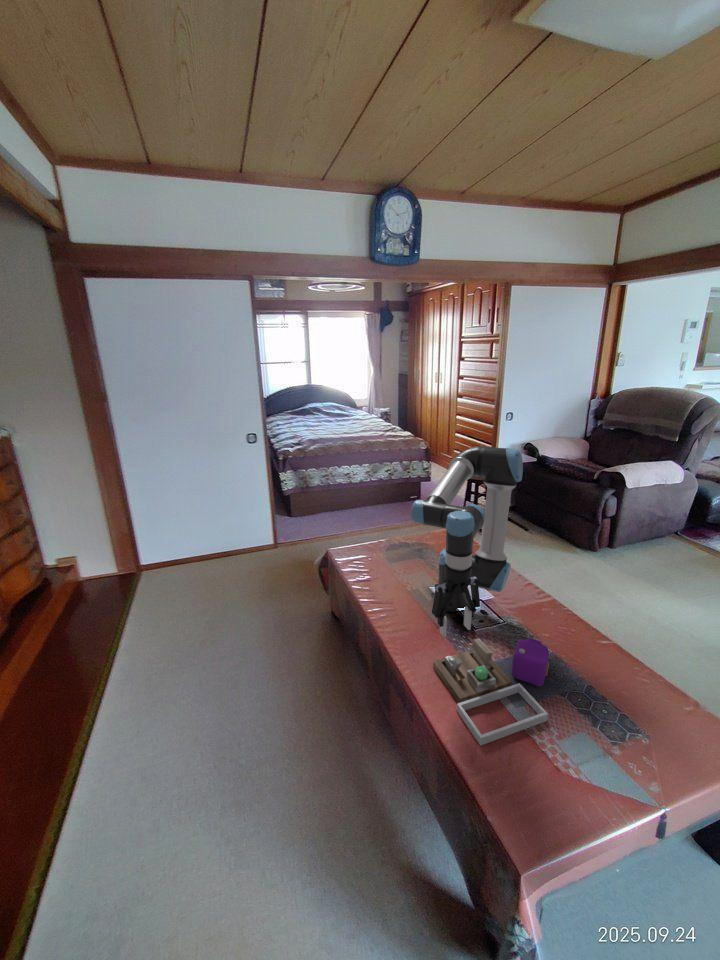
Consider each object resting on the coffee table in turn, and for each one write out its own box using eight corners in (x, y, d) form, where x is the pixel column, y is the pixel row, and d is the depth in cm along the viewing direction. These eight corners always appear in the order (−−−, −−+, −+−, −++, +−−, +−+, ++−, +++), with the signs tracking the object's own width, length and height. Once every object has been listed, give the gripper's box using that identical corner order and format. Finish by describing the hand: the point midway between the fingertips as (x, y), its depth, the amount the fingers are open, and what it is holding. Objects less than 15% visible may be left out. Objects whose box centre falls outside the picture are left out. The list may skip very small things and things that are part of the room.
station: (480, 653, 138) (481, 632, 136) (511, 688, 124) (513, 665, 121) (433, 667, 133) (433, 645, 130) (459, 705, 118) (461, 682, 116)
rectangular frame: (518, 689, 123) (519, 683, 123) (547, 720, 113) (548, 713, 112) (456, 710, 117) (456, 703, 116) (480, 745, 106) (480, 738, 106)
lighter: (444, 667, 132) (445, 647, 130) (449, 666, 132) (450, 646, 130) (456, 683, 126) (457, 662, 123) (461, 682, 126) (462, 661, 124)
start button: (482, 674, 125) (483, 664, 124) (489, 682, 122) (490, 673, 121) (472, 677, 124) (472, 667, 123) (479, 686, 121) (479, 676, 120)
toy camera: (545, 659, 135) (549, 634, 132) (549, 691, 123) (553, 663, 120) (511, 652, 138) (513, 628, 135) (511, 682, 126) (514, 656, 123)
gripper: (481, 552, 124) (477, 615, 131) (419, 564, 118) (418, 630, 124) (496, 563, 117) (491, 630, 124) (432, 577, 111) (430, 646, 118)
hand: (455, 630), depth 124 cm, fingers open, 8 cm apart
